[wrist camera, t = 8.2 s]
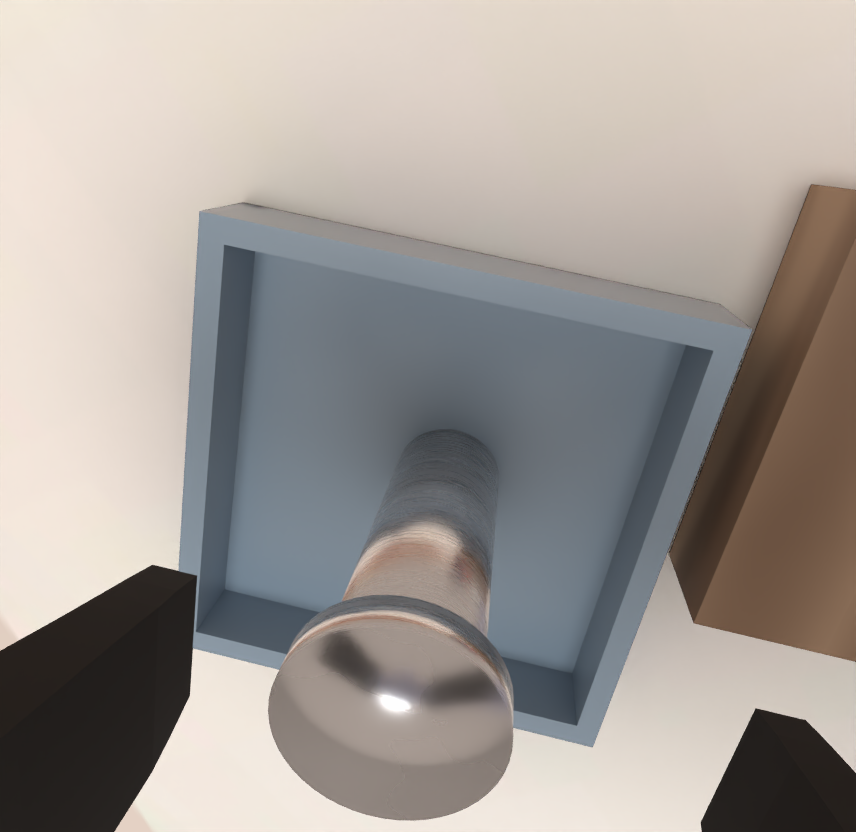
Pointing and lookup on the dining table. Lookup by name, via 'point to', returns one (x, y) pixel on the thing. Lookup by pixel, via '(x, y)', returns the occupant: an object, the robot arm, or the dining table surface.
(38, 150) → the dining table surface
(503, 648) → the tray
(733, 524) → the pin block
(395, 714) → the lock pin
